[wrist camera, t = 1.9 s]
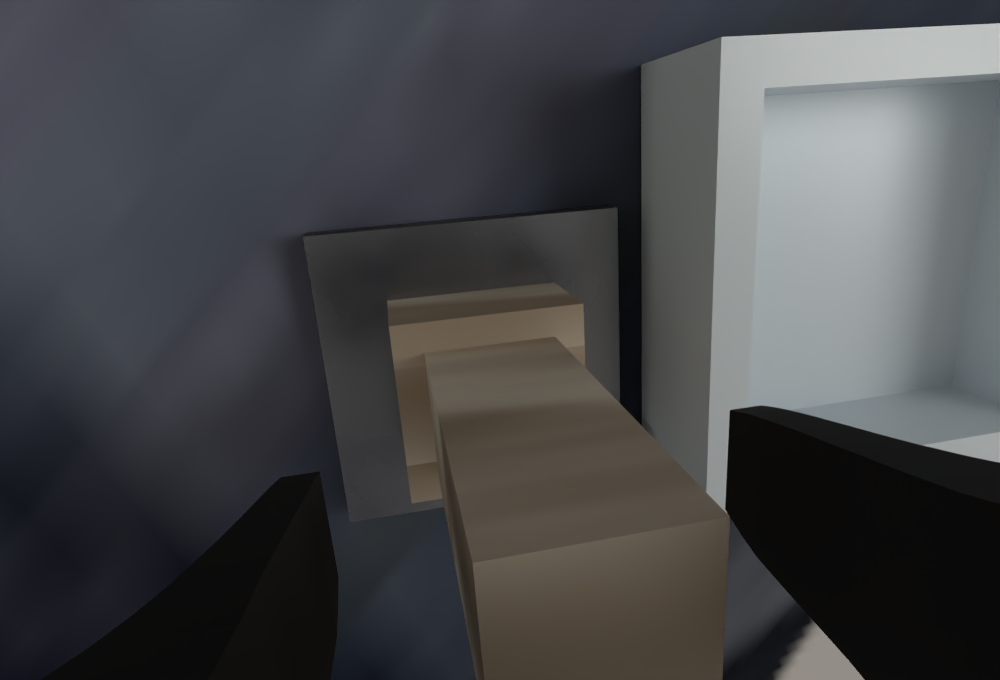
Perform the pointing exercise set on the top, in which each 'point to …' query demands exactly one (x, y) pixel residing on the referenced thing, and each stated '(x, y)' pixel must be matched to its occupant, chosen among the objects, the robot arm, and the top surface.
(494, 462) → the strut
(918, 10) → the top surface
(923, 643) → the robot arm
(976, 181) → the tray
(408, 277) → the stud plate
